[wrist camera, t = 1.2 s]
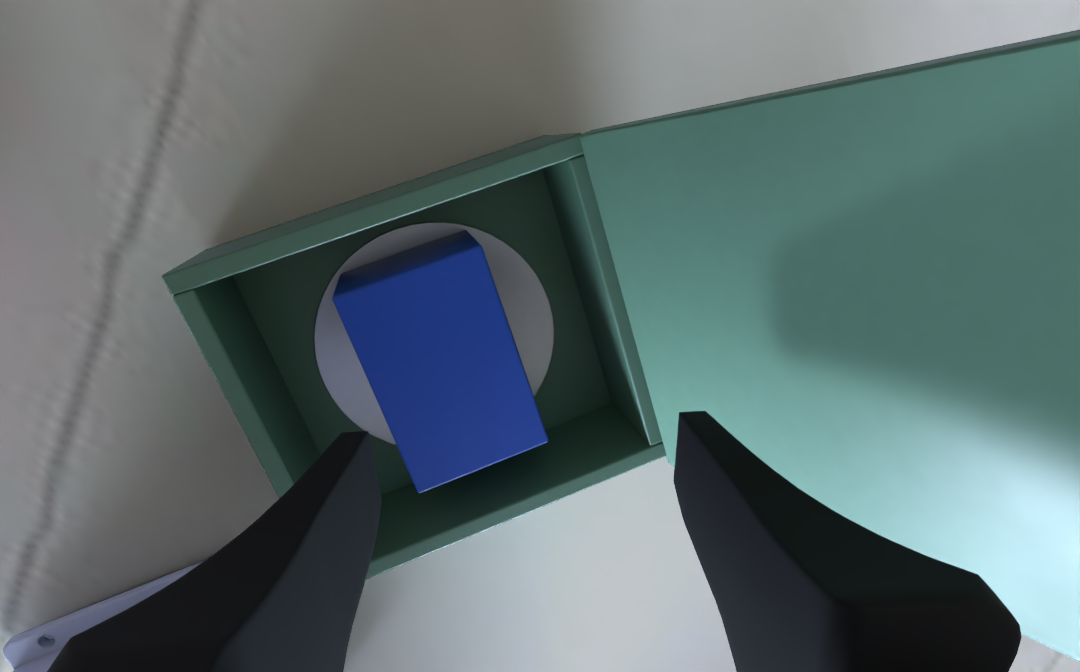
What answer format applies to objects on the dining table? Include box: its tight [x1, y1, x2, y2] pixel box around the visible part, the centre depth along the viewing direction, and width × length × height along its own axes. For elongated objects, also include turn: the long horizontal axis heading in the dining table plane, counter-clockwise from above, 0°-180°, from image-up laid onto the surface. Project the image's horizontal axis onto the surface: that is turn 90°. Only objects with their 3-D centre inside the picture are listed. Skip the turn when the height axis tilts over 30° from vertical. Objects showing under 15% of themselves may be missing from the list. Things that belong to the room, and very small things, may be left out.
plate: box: [314, 222, 554, 445], centre depth 23 cm, size 9×9×1 cm
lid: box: [580, 30, 1080, 662], centre depth 15 cm, size 13×11×1 cm
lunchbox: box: [162, 133, 667, 580], centre depth 22 cm, size 12×11×5 cm
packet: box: [332, 230, 548, 493], centre depth 22 cm, size 5×7×4 cm, turn 17°
